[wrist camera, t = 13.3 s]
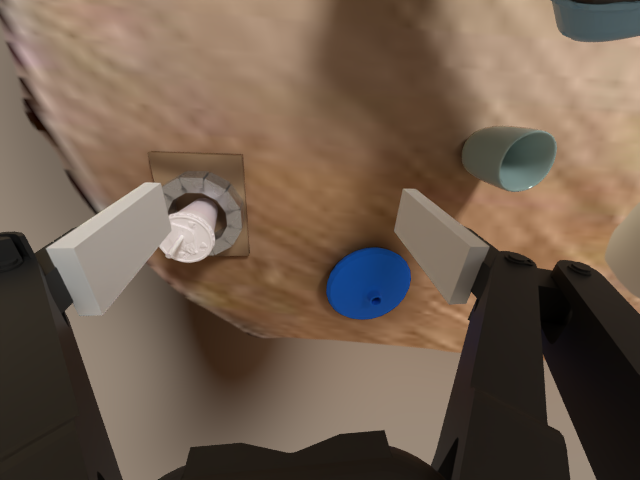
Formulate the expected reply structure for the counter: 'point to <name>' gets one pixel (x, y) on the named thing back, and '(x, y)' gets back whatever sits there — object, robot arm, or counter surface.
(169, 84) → the counter surface
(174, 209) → the ring
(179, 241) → the smoothie
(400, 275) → the blue funnel
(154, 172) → the board
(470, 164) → the cup
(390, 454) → the robot arm
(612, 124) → the counter surface
